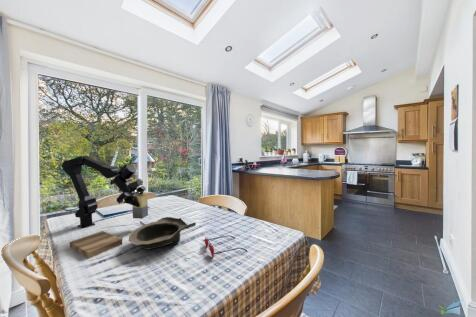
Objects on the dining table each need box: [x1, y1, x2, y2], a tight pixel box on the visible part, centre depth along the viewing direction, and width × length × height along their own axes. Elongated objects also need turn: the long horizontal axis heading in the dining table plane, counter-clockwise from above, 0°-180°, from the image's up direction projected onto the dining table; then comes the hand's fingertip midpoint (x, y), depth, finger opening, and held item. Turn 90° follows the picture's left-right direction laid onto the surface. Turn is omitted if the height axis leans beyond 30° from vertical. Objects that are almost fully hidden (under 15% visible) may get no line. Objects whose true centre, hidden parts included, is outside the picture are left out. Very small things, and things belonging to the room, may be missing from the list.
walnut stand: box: [69, 230, 124, 259], centre depth 95 cm, size 18×14×2 cm
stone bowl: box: [128, 216, 188, 250], centre depth 96 cm, size 25×25×9 cm
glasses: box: [202, 235, 248, 259], centre depth 92 cm, size 14×16×5 cm
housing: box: [131, 193, 149, 220], centre depth 114 cm, size 6×6×12 cm
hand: (142, 205), depth 114 cm, fingers closed on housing, 5 cm apart
